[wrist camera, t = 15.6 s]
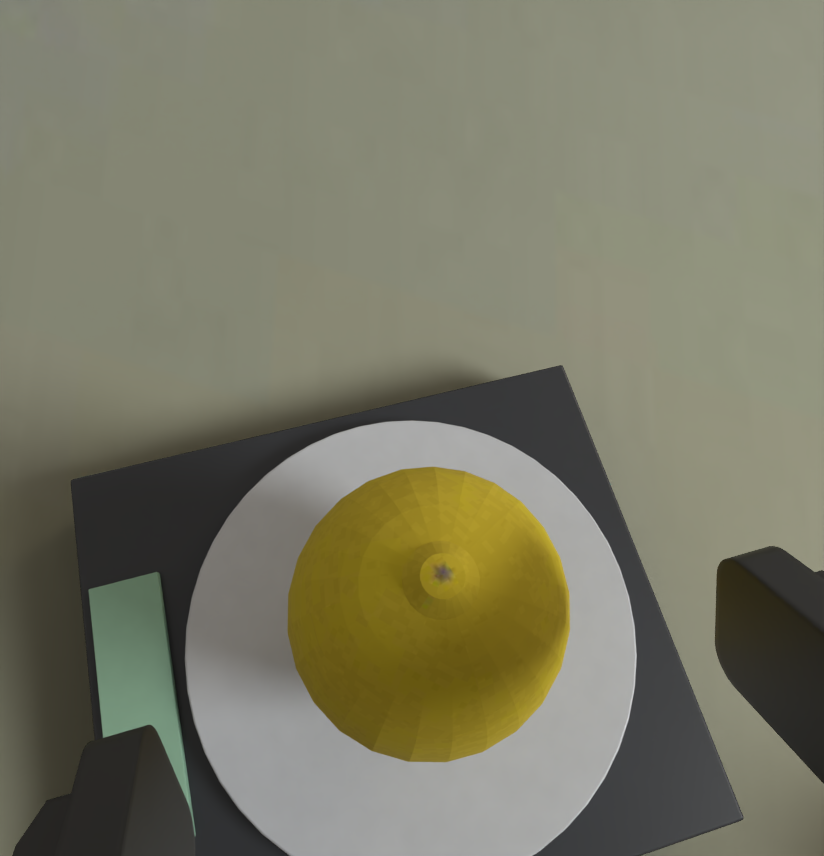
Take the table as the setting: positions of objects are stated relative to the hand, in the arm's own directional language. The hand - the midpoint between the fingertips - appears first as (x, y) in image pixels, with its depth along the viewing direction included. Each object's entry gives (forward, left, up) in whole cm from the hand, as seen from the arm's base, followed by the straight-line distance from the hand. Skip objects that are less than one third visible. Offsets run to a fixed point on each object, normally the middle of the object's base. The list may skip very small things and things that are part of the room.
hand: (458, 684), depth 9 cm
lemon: (0, +2, -8) cm, 8 cm away
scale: (-1, +2, -11) cm, 11 cm away
